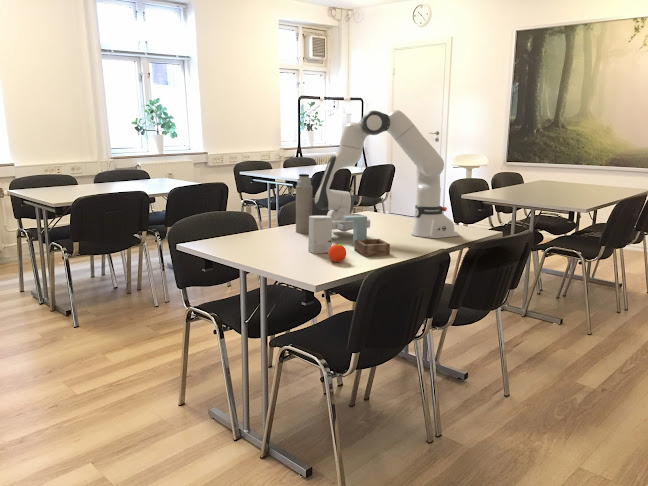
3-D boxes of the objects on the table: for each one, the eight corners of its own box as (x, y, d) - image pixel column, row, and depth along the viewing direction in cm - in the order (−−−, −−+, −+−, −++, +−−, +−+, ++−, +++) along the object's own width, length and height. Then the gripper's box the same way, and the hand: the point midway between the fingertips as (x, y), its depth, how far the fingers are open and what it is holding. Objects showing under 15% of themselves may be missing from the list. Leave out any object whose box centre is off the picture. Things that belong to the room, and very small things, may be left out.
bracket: (362, 244, 235) (363, 215, 233) (366, 246, 231) (367, 216, 229) (342, 245, 233) (342, 215, 230) (345, 247, 228) (346, 217, 226)
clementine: (347, 259, 208) (347, 241, 206) (350, 264, 201) (350, 245, 200) (326, 260, 207) (327, 242, 206) (329, 264, 200) (329, 245, 199)
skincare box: (313, 254, 216) (313, 217, 213) (307, 251, 222) (307, 215, 218) (332, 252, 219) (332, 216, 216) (326, 249, 225) (326, 214, 222)
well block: (379, 249, 226) (379, 238, 225) (389, 255, 216) (390, 244, 215) (354, 250, 223) (354, 240, 222) (364, 256, 213) (364, 245, 212)
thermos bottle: (313, 230, 266) (314, 173, 260) (310, 233, 258) (310, 175, 252) (298, 229, 268) (298, 173, 262) (294, 232, 260) (293, 174, 254)
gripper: (322, 215, 248) (331, 220, 235) (364, 214, 254) (375, 218, 241) (322, 229, 249) (331, 234, 236) (363, 227, 255) (374, 232, 242)
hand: (353, 226), depth 238 cm, fingers open, 8 cm apart
